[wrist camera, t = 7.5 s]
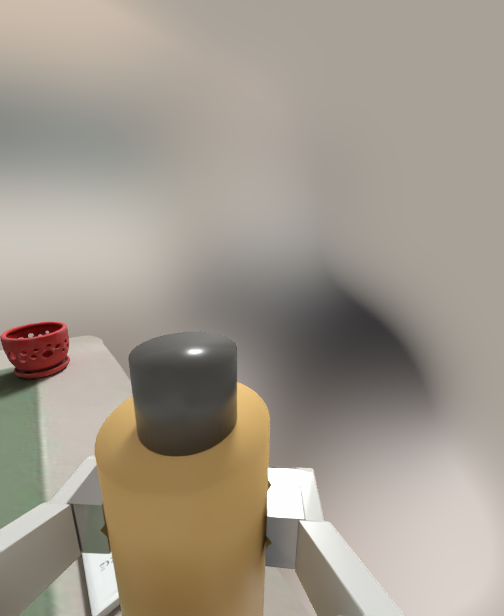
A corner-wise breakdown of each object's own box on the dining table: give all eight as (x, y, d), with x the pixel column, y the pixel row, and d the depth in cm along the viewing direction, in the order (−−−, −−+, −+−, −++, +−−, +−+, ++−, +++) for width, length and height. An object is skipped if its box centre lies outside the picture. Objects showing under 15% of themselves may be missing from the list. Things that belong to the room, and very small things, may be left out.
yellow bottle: (103, 745, 7) (19, 396, 4) (165, 555, 11) (142, 321, 9) (261, 763, 7) (276, 408, 4) (262, 562, 11) (270, 325, 8)
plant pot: (3, 373, 65) (-8, 330, 62) (62, 356, 76) (55, 318, 73) (20, 389, 58) (8, 341, 55) (82, 367, 69) (75, 326, 66)
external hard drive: (143, 481, 37) (179, 559, 28) (76, 518, 32) (94, 630, 23) (142, 472, 36) (178, 548, 27) (74, 508, 31) (91, 618, 22)
